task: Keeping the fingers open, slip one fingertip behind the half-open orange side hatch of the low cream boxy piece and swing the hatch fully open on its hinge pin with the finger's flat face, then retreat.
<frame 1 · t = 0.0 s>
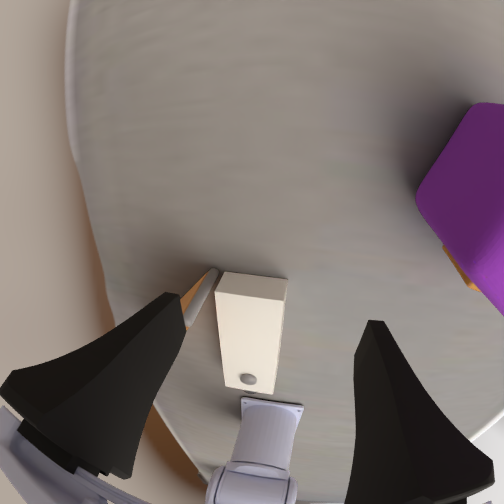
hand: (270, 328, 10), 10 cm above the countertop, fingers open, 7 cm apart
cream boxy piece: (254, 332, 25), on the countertop
side door: (173, 321, 22), point 3 cm above the countertop, hinge at 40.0°
toy camera: (489, 196, 14), on the countertop
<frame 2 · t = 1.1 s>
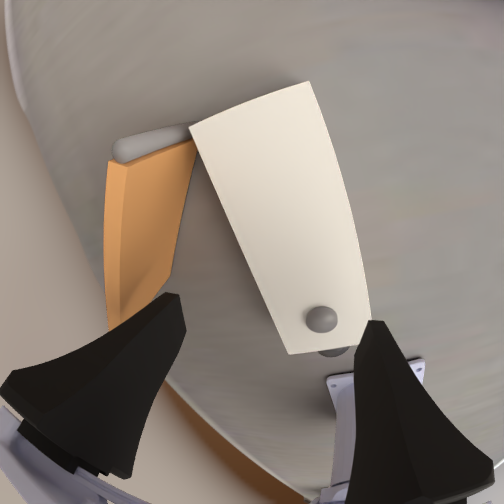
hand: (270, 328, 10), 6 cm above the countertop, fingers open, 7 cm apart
cream boxy piece: (303, 225, 14), on the countertop
side door: (148, 231, 12), point 3 cm above the countertop, hinge at 40.0°
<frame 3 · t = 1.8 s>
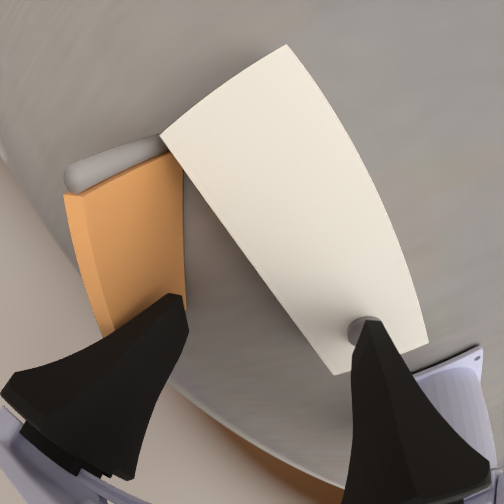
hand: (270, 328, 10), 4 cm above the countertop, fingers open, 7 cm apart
cream boxy piece: (324, 225, 11), on the countertop
side door: (144, 266, 10), point 3 cm above the countertop, hinge at 40.0°, touching gripper
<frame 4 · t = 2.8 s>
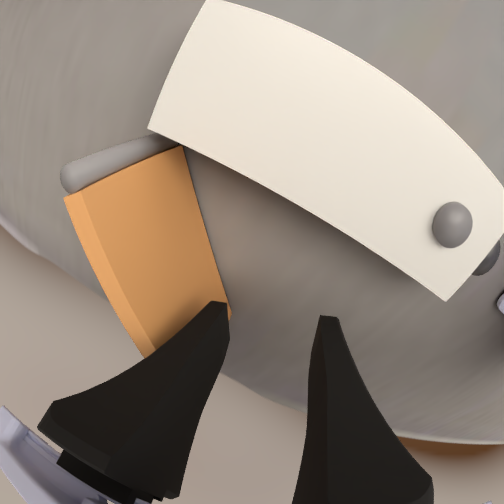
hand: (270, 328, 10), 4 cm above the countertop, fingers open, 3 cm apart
cream boxy piece: (352, 142, 9), on the countertop
side door: (170, 268, 10), point 3 cm above the countertop, hinge at 51.8°, touching gripper
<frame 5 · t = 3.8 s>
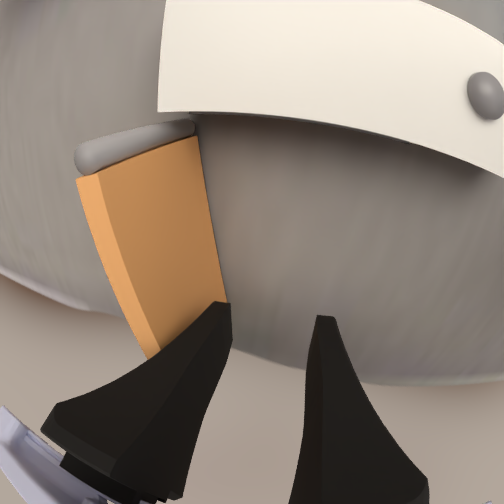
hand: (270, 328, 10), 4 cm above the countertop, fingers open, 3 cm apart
cream boxy piece: (360, 64, 8), on the countertop
side door: (176, 262, 10), point 3 cm above the countertop, hinge at 79.6°, touching gripper
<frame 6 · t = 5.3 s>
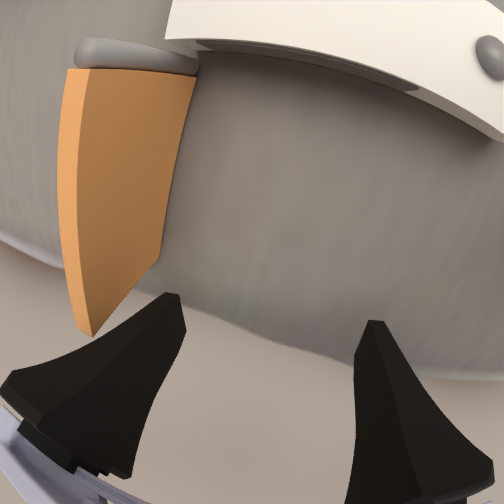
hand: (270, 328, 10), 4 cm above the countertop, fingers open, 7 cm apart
cream boxy piece: (371, 23, 7), on the countertop
side door: (126, 187, 9), point 3 cm above the countertop, hinge at 98.1°
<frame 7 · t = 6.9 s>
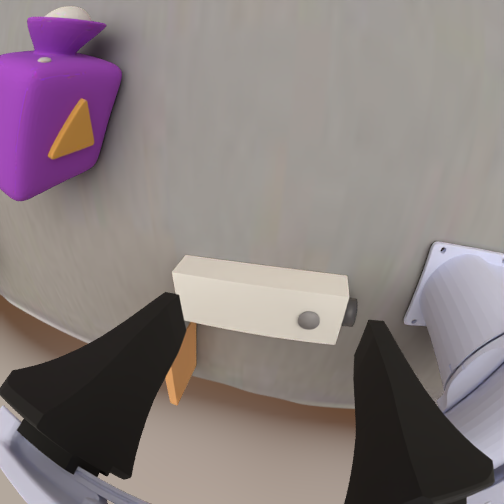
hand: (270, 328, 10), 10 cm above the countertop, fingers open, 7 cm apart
cream boxy piece: (262, 290, 23), on the countertop
side door: (181, 359, 25), point 3 cm above the countertop, hinge at 98.1°
toy camera: (85, 87, 17), on the countertop
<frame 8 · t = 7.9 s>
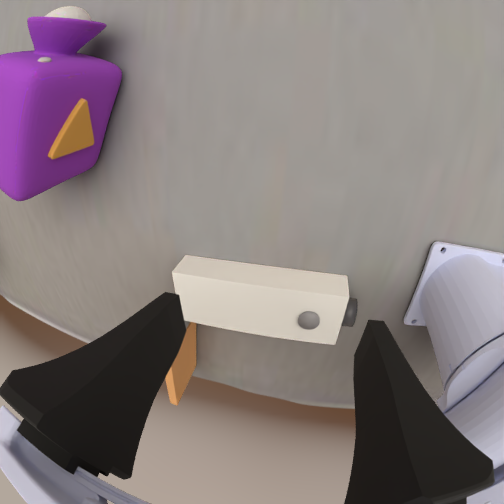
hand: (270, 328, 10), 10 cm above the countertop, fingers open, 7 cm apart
cream boxy piece: (262, 290, 23), on the countertop
side door: (181, 359, 25), point 3 cm above the countertop, hinge at 98.1°
toy camera: (86, 87, 17), on the countertop
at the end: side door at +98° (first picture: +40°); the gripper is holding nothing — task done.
